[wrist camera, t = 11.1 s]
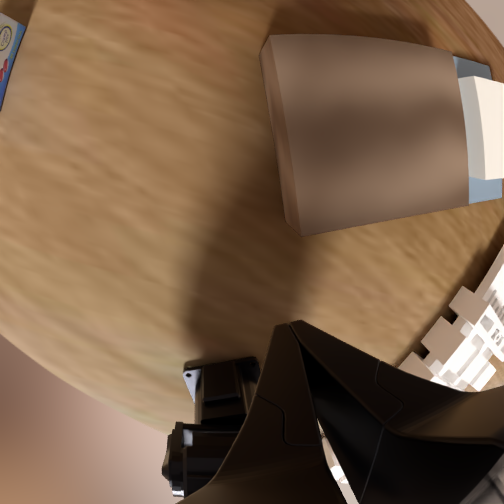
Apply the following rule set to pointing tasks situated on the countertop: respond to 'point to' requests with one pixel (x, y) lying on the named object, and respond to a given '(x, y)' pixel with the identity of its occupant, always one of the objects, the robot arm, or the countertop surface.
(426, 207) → the taupe square box
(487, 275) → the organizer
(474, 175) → the card box
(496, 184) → the mat
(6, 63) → the medicine box
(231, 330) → the countertop surface
